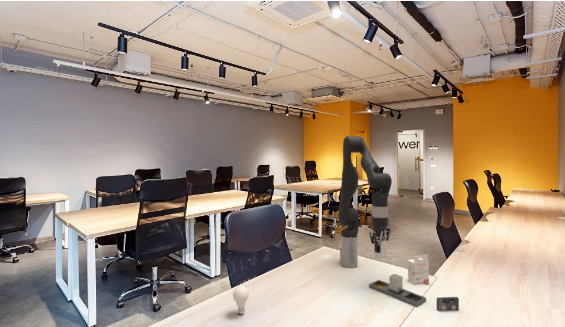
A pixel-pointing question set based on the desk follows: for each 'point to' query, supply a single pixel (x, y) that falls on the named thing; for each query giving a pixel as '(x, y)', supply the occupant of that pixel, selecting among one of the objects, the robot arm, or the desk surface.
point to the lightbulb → (241, 298)
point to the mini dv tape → (447, 303)
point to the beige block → (396, 284)
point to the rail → (404, 296)
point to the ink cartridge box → (418, 270)
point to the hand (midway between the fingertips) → (380, 251)
